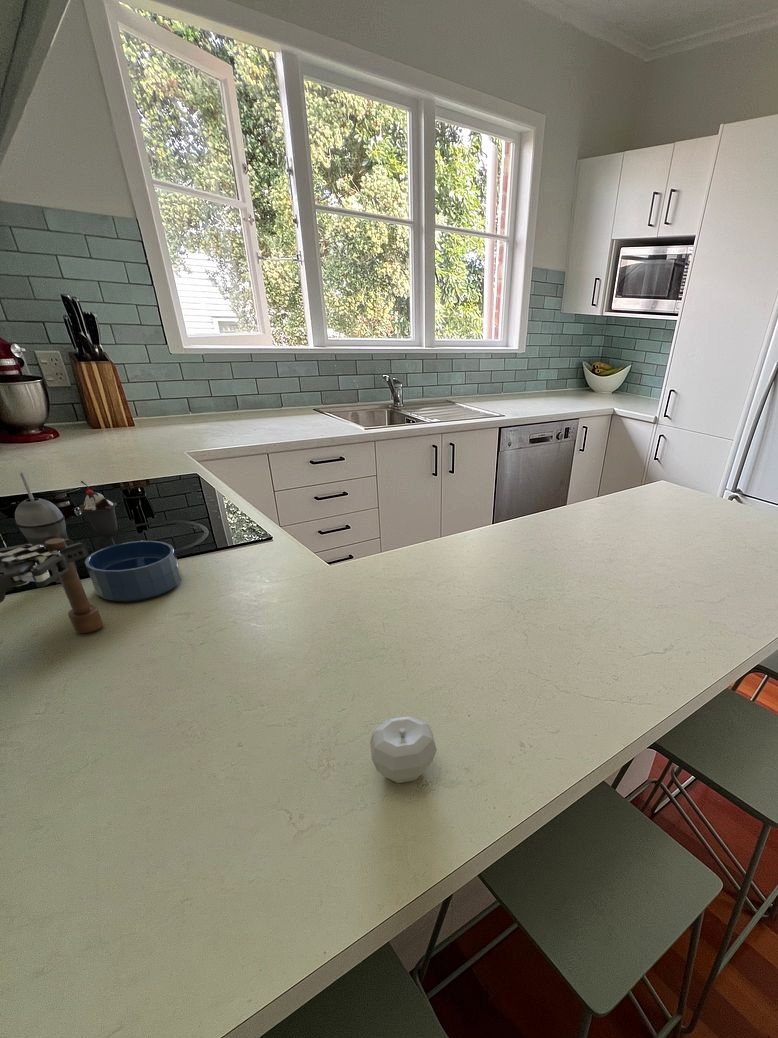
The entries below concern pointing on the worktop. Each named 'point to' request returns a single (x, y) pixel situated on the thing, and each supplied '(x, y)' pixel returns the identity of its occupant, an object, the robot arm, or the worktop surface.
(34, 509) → the beverage cup
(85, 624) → the brown pestle
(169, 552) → the bowl
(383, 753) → the apple
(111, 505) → the sundae
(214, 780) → the worktop surface
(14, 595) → the worktop surface
